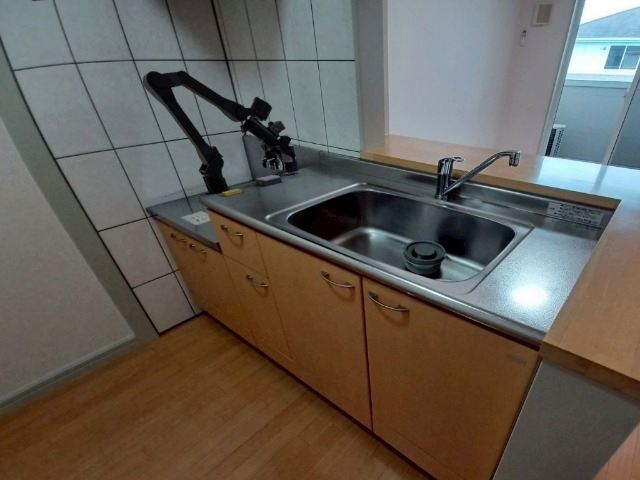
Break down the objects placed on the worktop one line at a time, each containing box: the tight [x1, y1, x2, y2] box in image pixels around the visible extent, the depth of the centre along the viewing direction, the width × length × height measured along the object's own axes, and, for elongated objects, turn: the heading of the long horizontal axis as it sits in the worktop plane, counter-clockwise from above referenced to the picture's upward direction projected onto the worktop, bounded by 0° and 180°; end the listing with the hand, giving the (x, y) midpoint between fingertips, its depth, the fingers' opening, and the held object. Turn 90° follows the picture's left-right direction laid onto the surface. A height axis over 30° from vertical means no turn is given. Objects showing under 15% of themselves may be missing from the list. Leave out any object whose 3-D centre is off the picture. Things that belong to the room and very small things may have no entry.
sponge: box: [221, 188, 243, 197], centre depth 119 cm, size 6×4×1 cm, turn 136°
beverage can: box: [281, 142, 300, 175], centre depth 141 cm, size 6×6×12 cm
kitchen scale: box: [255, 174, 283, 187], centre depth 129 cm, size 7×7×2 cm
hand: (291, 156), depth 141 cm, fingers closed on beverage can, 5 cm apart
